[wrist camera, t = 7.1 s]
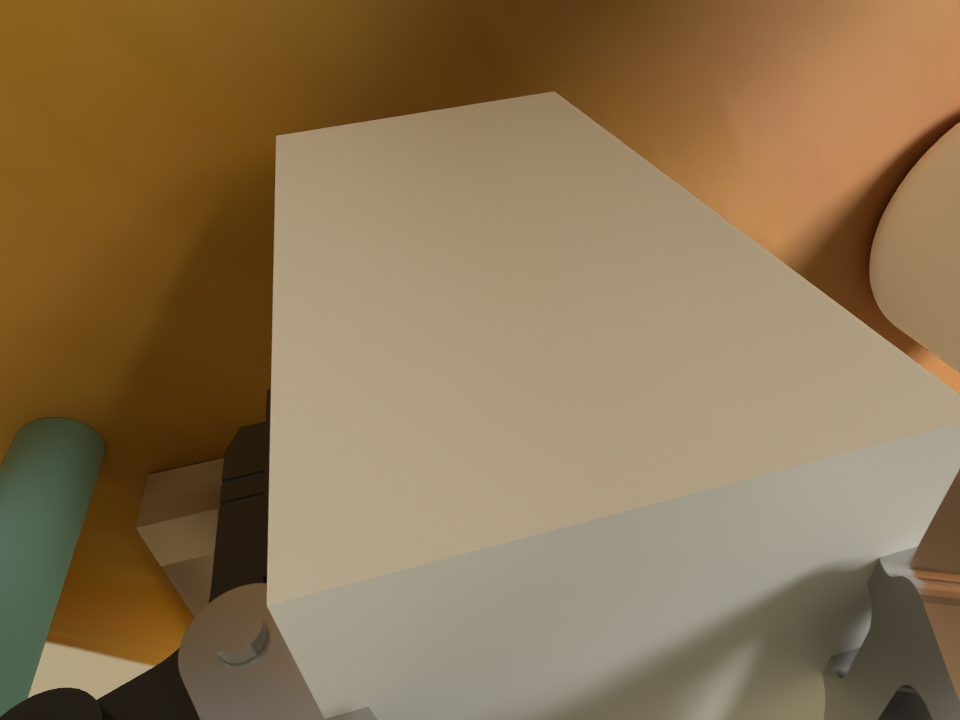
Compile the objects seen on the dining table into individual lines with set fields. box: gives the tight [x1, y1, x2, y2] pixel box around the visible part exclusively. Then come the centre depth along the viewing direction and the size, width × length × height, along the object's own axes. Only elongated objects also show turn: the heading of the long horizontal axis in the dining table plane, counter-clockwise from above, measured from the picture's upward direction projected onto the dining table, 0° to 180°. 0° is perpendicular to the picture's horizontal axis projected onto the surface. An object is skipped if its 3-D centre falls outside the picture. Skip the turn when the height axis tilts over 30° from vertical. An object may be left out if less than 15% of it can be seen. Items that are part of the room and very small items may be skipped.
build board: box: [135, 458, 224, 618], centre depth 25 cm, size 8×8×2 cm
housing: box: [267, 91, 960, 720], centre depth 11 cm, size 6×6×11 cm
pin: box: [0, 418, 105, 717], centre depth 18 cm, size 3×3×9 cm
